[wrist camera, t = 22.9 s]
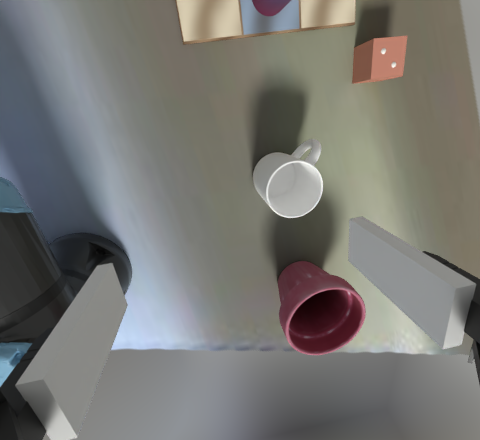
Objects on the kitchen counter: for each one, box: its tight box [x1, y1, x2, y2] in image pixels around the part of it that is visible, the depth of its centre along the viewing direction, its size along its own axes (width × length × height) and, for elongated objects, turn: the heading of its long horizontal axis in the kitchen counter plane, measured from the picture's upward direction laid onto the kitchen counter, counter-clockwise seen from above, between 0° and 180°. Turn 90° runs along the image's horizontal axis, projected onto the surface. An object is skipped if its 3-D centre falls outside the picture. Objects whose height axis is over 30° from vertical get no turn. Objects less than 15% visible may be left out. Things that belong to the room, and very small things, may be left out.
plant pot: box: [278, 261, 366, 355], centre depth 49 cm, size 14×14×13 cm
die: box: [352, 36, 407, 84], centre depth 40 cm, size 5×5×5 cm
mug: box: [253, 139, 323, 218], centre depth 41 cm, size 12×8×10 cm
